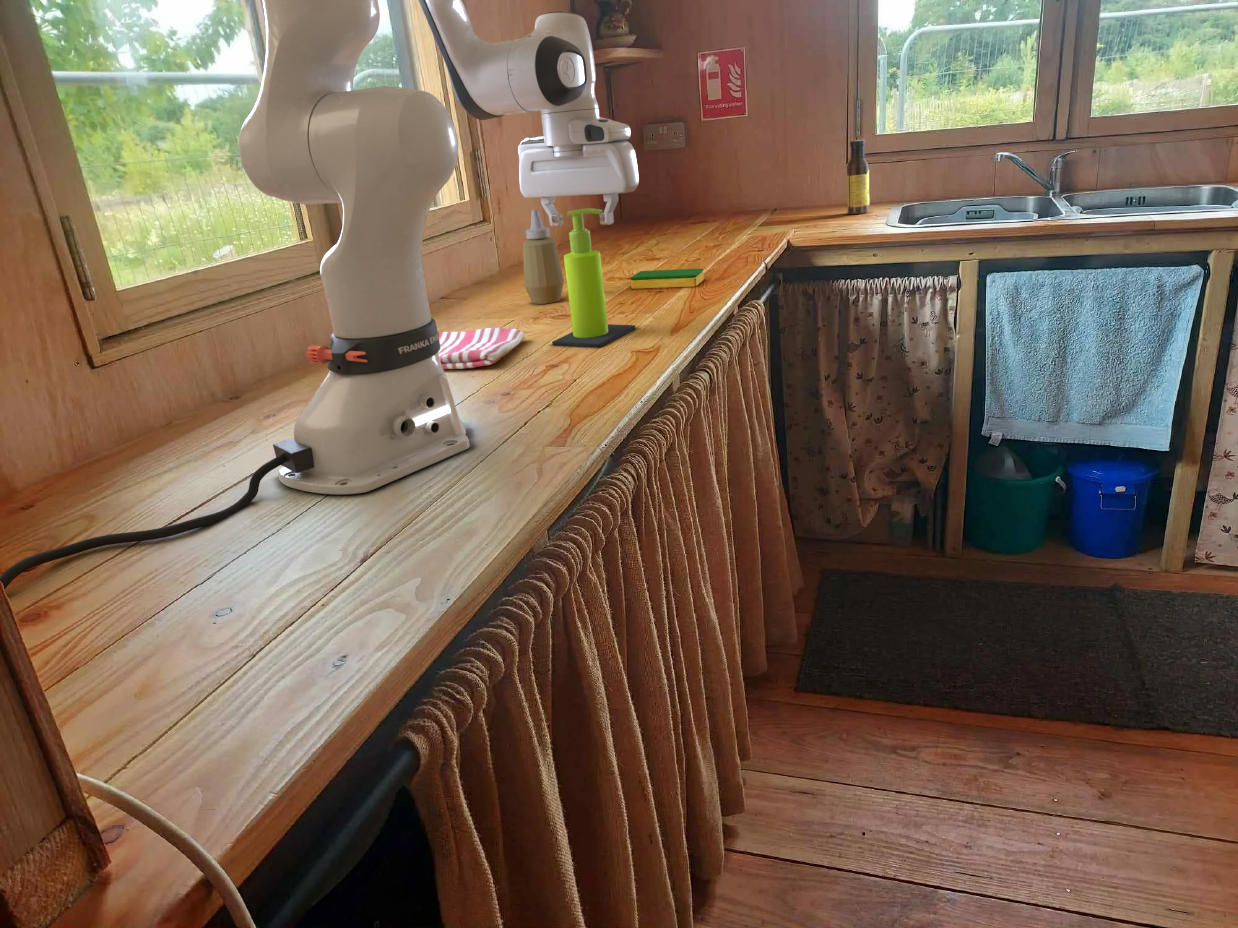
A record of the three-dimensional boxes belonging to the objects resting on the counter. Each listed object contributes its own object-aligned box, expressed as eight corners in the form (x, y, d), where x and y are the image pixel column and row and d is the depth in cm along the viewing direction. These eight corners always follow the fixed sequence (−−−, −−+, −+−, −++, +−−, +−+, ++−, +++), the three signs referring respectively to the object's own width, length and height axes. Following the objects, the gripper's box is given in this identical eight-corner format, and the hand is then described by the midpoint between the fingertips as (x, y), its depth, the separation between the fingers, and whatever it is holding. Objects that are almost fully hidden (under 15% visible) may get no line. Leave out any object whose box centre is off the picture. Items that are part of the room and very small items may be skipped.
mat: (599, 347, 138) (598, 343, 138) (552, 345, 143) (551, 341, 142) (635, 328, 148) (635, 325, 147) (590, 327, 152) (590, 323, 152)
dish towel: (398, 347, 152) (395, 327, 151) (527, 340, 147) (524, 320, 146) (355, 376, 136) (350, 354, 135) (497, 369, 132) (494, 347, 131)
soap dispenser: (610, 337, 141) (597, 210, 134) (569, 338, 143) (553, 213, 135) (617, 328, 147) (605, 205, 139) (578, 329, 148) (563, 208, 141)
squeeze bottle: (574, 297, 178) (563, 206, 171) (550, 306, 172) (538, 212, 165) (542, 296, 182) (531, 207, 175) (518, 305, 176) (505, 213, 169)
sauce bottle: (873, 212, 251) (874, 138, 244) (856, 215, 249) (856, 141, 241) (859, 211, 257) (860, 139, 249) (842, 213, 254) (842, 141, 247)
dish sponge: (640, 282, 186) (639, 270, 185) (704, 279, 182) (703, 268, 181) (630, 289, 180) (629, 277, 179) (696, 287, 175) (695, 275, 175)
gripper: (505, 138, 136) (517, 229, 141) (618, 128, 126) (627, 226, 131) (528, 136, 141) (539, 224, 146) (639, 125, 131) (646, 220, 136)
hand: (581, 225), depth 138 cm, fingers open, 8 cm apart
